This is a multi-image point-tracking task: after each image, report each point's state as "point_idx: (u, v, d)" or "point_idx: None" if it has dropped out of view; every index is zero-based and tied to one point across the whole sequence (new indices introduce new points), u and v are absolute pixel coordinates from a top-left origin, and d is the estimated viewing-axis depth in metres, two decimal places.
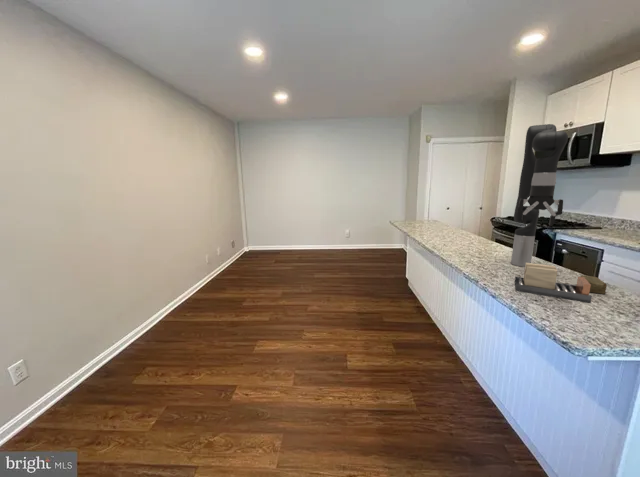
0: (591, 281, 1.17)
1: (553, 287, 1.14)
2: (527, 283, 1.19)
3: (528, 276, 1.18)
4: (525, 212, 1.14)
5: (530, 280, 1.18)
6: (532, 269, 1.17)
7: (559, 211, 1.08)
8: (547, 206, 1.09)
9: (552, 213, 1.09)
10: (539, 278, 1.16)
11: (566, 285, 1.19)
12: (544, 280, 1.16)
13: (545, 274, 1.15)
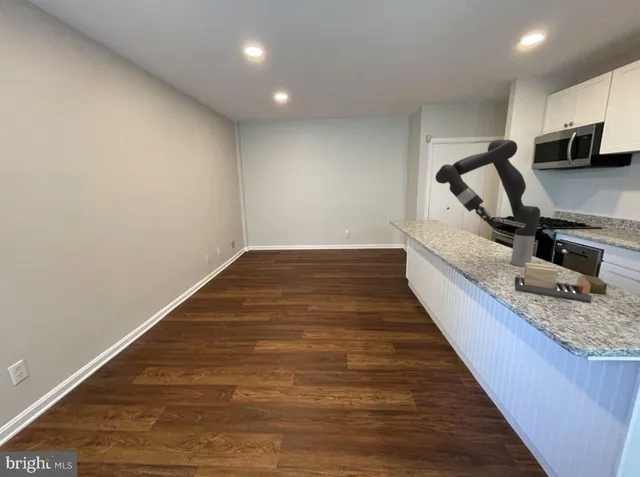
0: (591, 281, 1.17)
1: (553, 287, 1.14)
2: (527, 283, 1.19)
3: (528, 276, 1.18)
4: (484, 218, 1.32)
5: (530, 280, 1.18)
6: (532, 269, 1.17)
7: (483, 219, 1.23)
8: (479, 215, 1.27)
9: None
10: (539, 278, 1.16)
11: (566, 285, 1.19)
12: (544, 280, 1.16)
13: (545, 274, 1.15)
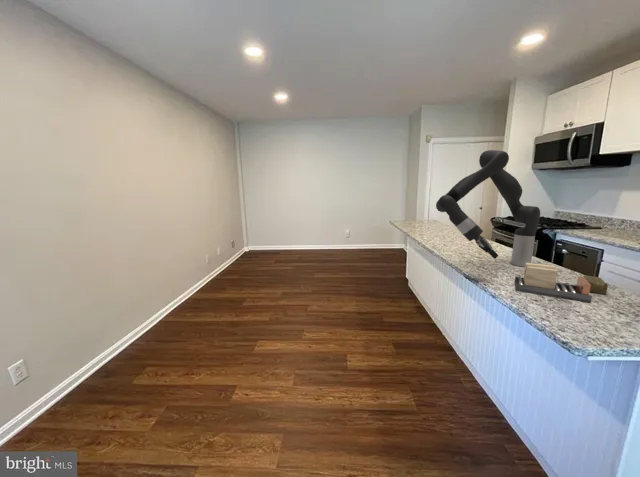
0: (592, 281, 1.17)
1: (553, 287, 1.14)
2: (527, 283, 1.19)
3: (528, 276, 1.18)
4: None
5: (530, 280, 1.18)
6: (532, 269, 1.17)
7: None
8: None
9: None
10: (539, 278, 1.16)
11: (566, 285, 1.19)
12: (544, 280, 1.16)
13: (545, 274, 1.15)
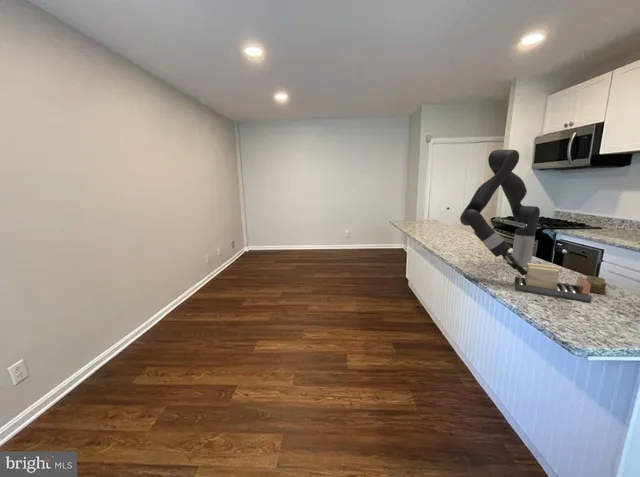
0: (590, 281, 1.18)
1: (555, 287, 1.14)
2: (529, 283, 1.19)
3: (529, 276, 1.18)
4: None
5: (532, 280, 1.18)
6: (534, 269, 1.17)
7: (512, 266, 1.22)
8: (507, 262, 1.24)
9: None
10: (541, 279, 1.16)
11: (566, 285, 1.19)
12: (545, 280, 1.15)
13: (546, 275, 1.15)
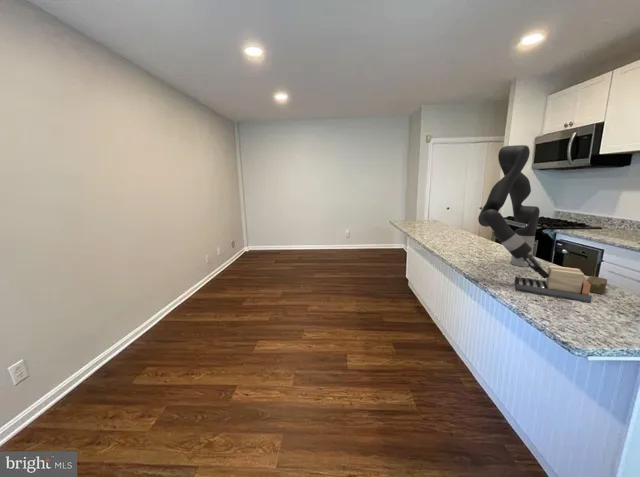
0: (589, 280, 1.18)
1: (579, 291, 1.10)
2: (551, 287, 1.15)
3: (552, 279, 1.14)
4: None
5: (554, 284, 1.14)
6: (557, 272, 1.13)
7: None
8: (527, 264, 1.20)
9: None
10: (564, 282, 1.12)
11: None
12: (569, 284, 1.11)
13: (570, 278, 1.11)
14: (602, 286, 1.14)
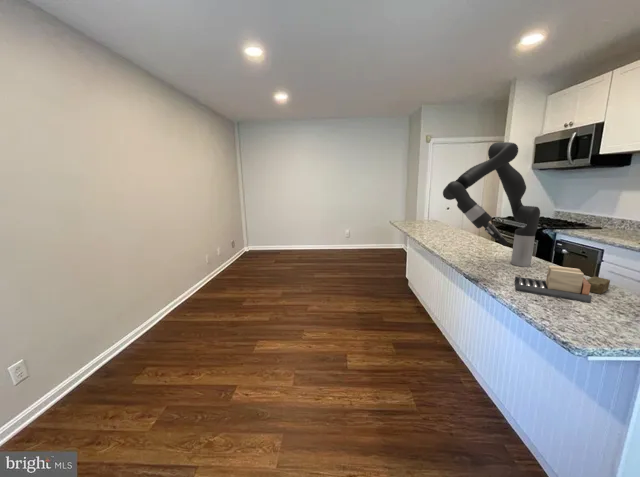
0: (589, 280, 1.18)
1: (579, 291, 1.10)
2: (551, 287, 1.15)
3: (552, 279, 1.14)
4: None
5: (554, 284, 1.14)
6: (556, 272, 1.13)
7: (494, 237, 1.24)
8: None
9: None
10: (564, 282, 1.12)
11: None
12: (569, 284, 1.11)
13: (570, 278, 1.11)
14: (601, 286, 1.14)
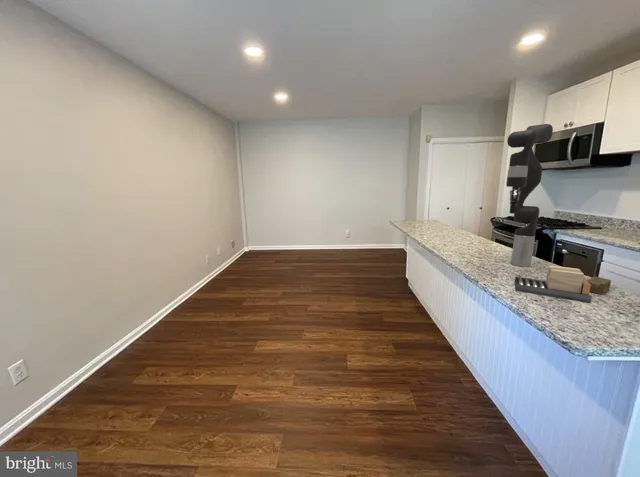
0: (589, 280, 1.18)
1: (579, 291, 1.10)
2: (551, 287, 1.15)
3: (552, 279, 1.14)
4: (510, 202, 1.31)
5: (554, 284, 1.14)
6: (556, 272, 1.13)
7: (510, 201, 1.29)
8: (510, 195, 1.30)
9: (510, 203, 1.31)
10: (564, 282, 1.12)
11: None
12: (569, 284, 1.11)
13: (570, 278, 1.11)
14: (601, 286, 1.14)
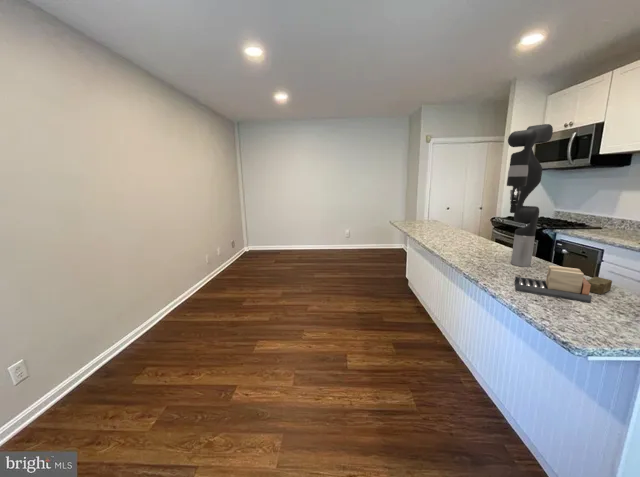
0: (590, 280, 1.18)
1: (579, 291, 1.10)
2: (551, 287, 1.15)
3: (552, 279, 1.14)
4: None
5: (554, 284, 1.14)
6: (556, 272, 1.13)
7: (511, 200, 1.29)
8: (510, 195, 1.29)
9: None
10: (564, 282, 1.12)
11: None
12: (569, 284, 1.11)
13: (570, 278, 1.11)
14: (601, 286, 1.14)
